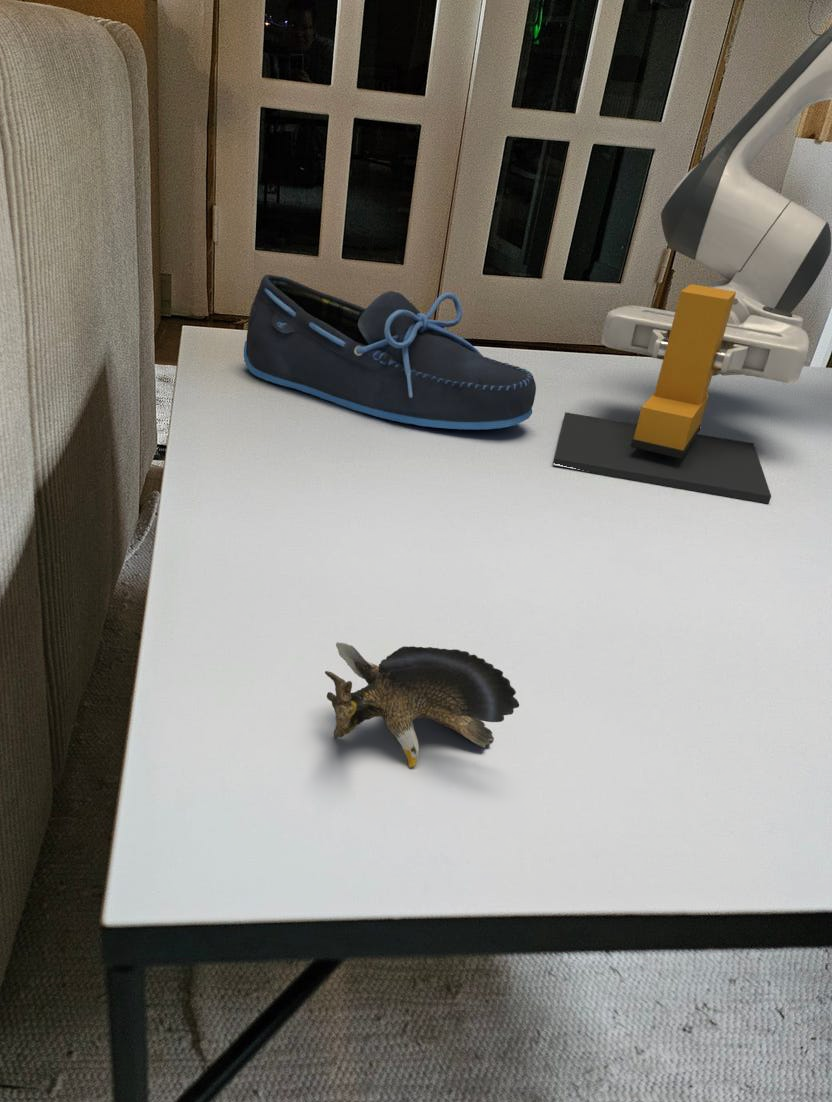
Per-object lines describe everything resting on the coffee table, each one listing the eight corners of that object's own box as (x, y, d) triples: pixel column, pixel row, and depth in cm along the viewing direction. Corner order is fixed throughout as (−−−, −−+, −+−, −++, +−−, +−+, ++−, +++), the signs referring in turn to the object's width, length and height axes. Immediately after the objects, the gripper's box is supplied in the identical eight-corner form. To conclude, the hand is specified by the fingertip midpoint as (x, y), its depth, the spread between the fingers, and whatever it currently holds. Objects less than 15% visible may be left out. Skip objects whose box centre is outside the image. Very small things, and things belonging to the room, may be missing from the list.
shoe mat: (751, 450, 100) (753, 443, 100) (768, 504, 87) (771, 496, 86) (563, 419, 104) (565, 412, 103) (552, 466, 90) (554, 458, 90)
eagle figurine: (354, 791, 45) (532, 751, 46) (325, 645, 45) (504, 609, 46) (336, 771, 53) (489, 738, 54) (312, 647, 53) (465, 616, 54)
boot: (651, 421, 100) (687, 283, 93) (699, 431, 98) (739, 292, 91) (630, 446, 92) (667, 297, 85) (681, 458, 90) (724, 307, 83)
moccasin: (505, 455, 92) (527, 332, 86) (203, 384, 103) (204, 271, 97) (542, 419, 103) (564, 308, 97) (265, 359, 114) (270, 256, 108)
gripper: (625, 285, 105) (593, 304, 94) (819, 319, 98) (810, 343, 87) (612, 343, 108) (580, 367, 97) (799, 380, 101) (787, 410, 90)
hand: (690, 356), depth 92 cm, fingers closed on boot, 4 cm apart
